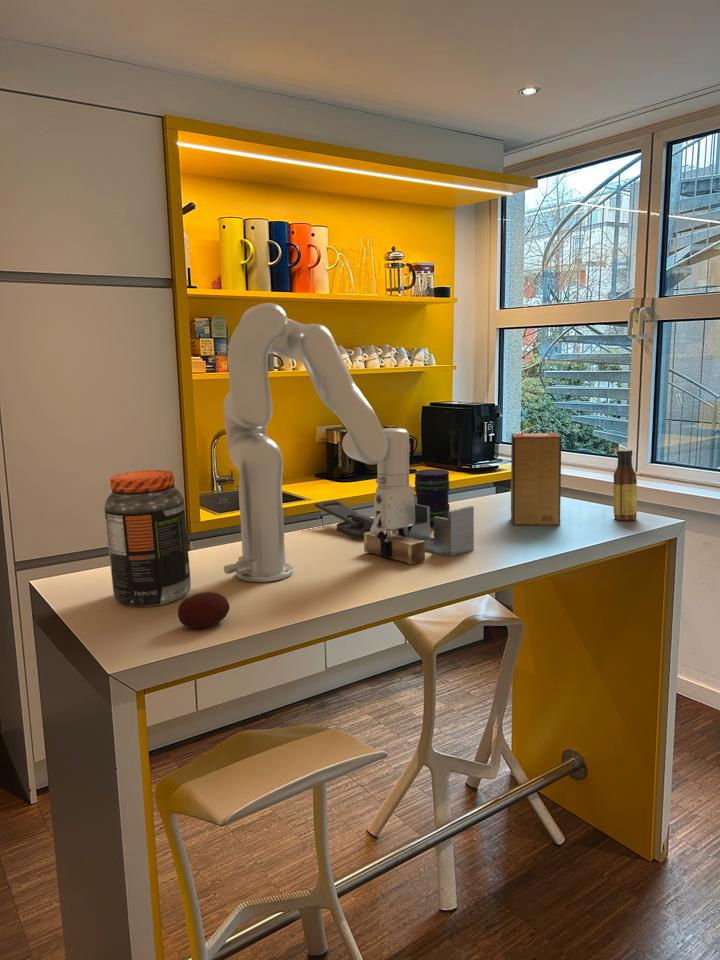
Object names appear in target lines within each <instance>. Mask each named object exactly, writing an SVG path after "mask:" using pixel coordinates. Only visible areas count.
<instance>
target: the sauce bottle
mask: <svg viewBox="0 0 720 960" xmlns="http://www.w3.org/2000/svg"><path fill="white" fill-rule="evenodd" d="M616 456H617V467H616V469H615V470H614V472H613V485H612V487H613V515H614V516H613V517H614V519H615V520H617V521H622V522H623V521H624V522H630V521H631V522H632V521H634V520H636V519H637V514H638V501H637V500H638V495H637V494H638V491H637V489H638V485H637V483H638V482H637V475H636V472H635V471H634V468H633V463H632V461H633V458H632V457H633V449H629V448H627V449H625V448H622V449H617V450H616Z"/></svg>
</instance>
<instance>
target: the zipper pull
mask: <svg viewBox="0 0 720 960" xmlns="http://www.w3.org/2000/svg"><path fill="white" fill-rule="evenodd" d="M314 507H315V508H317V509H319V510H321V511H323V512H325V513H327V514H329V515H331V516H333V517H336V518H338V519H339V520H342V521H341V522H339V523H337V524H336V532H337V531H338V532H340V533H339V534H341V533H342V534H341V535H343V534H344V535H343V536H345V535H346V537H347V536H348V538H349V539H352V540H356V541H364V533H367V532H371V531H370V529H371V527H372V525H373V523H374V517H371V516H367V515H364V514H359V512H357V511H355V510H353V509H352V508H350V507H349V506H348V505H345V504H344V503H343V502H341V501H339V500H338V499H332V500H331V499H329V500H324V501H319V502H315V503H314ZM379 530H380V528H379ZM338 532H337V533H338Z"/></svg>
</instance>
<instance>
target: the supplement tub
mask: <svg viewBox="0 0 720 960" xmlns="http://www.w3.org/2000/svg"><path fill="white" fill-rule="evenodd" d="M174 476H175V475H174V472H172V471H170V470H164V469H163V470H162V469H153V470H152V469H148V470H138V471H137V470H136V471H128V472H123V473H118V474H115V475H113V476H111V477H110V479H109V481H110V485H109V486H110V488H111V489H110V490H111V493H110V494H109V496H108V497H107V498H106V500H105V503H104V518H105V525H106V526H105V527H106V528H105V529H106V535H107V544H108V554H109V565H110V572H111V583H112V591H113V597H114V599H115V600H116V601H117V602H118V603H120V604H122V605H126V606H131V607H155V606H156V607H157V606H161V605H165V604H169V603H172V602H175V601H176V600H179V599H181V598H182V597H184V596H185V595H186V596H187V594H189V592H190V590H191V587H192V585H191V584H192V583H191V571H190V570H191V568H190V557H189V556H190V555H189V546H188V544H189V543H188V535H187V522H186V521H187V520H186V509H185V500H184V497H183V494H182V493H181V491H179V489H177V488H176V485H175V477H174Z"/></svg>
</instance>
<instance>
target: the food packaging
mask: <svg viewBox="0 0 720 960" xmlns="http://www.w3.org/2000/svg"><path fill="white" fill-rule="evenodd" d="M510 441H511V443H510V444H511V454H510V456H511V460H510V461H511V464H510V465H511V467H510V468H511V469H510V470H511V471H510V473H511V474H510V522H511V524H512V526H533V527H534V526H538V527H539V526H547V527H548V526H549V527H551V526H554V527H555V526H558V527H559V526H560V525H561V498H562V497H561V496H562V494H561V493H562V492H561V491H562V489H561V487H562V486H561V484H562V481H561V480H562V478H561V477H562V473H561V472H562V436H561V434H558V432H556V433H555V432H553V433H552V432H551V433H549V432H548V433H538V432H537V433H535V432H534V433H511V440H510Z"/></svg>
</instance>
